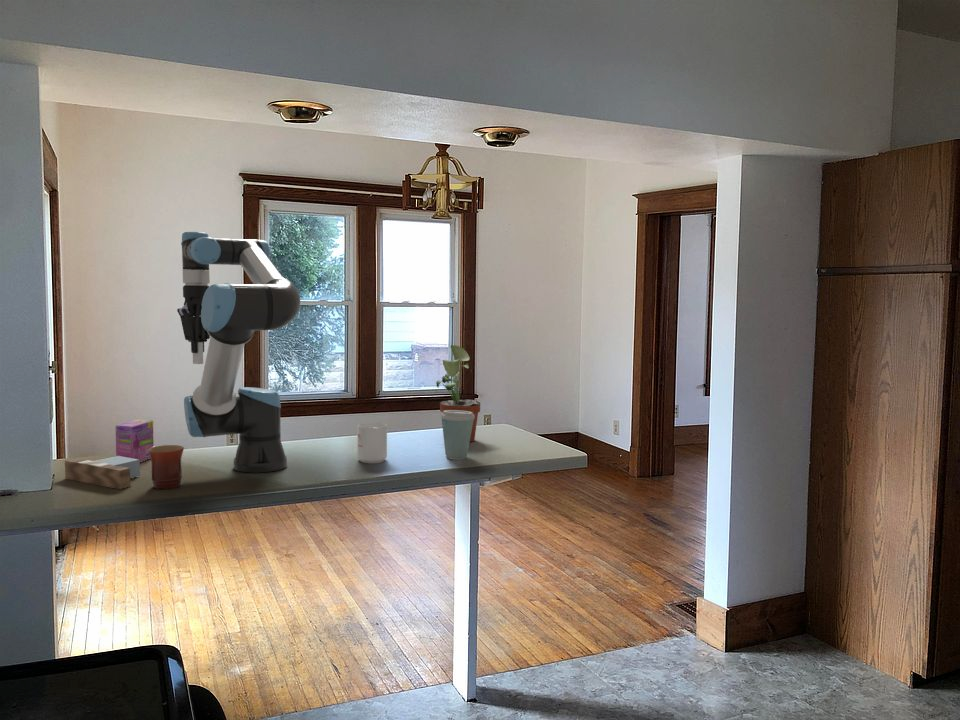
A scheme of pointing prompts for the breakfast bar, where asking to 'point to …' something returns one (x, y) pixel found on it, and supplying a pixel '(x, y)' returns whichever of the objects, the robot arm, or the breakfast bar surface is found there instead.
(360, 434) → the mug
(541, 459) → the breakfast bar surface
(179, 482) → the mug
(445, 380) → the potted plant
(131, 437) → the box
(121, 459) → the block
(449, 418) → the disposable coffee cup
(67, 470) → the board
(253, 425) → the robot arm
